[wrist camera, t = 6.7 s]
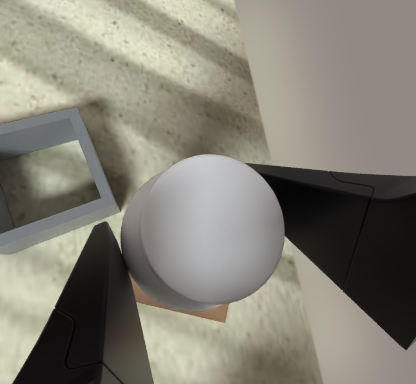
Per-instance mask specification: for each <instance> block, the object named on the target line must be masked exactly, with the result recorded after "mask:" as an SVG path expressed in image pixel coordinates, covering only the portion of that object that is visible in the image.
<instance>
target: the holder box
mask: <svg viewBox="0 0 416 384" xmlns="http://www.w3.org/2000/svg"><path fill="white" fill-rule="evenodd" d="M74 140H79V143H80V145H81V148H82V150H83V153H84V155H85V158H86V161H87V163H88V166H89V168H90V171H91V173H92V176H93V178H94V181H95V184H96V186H97V189H98V191H99V194H100V196H101V198H100V199H97V200H94V201H92V202H89V203H86V204H83V205H80V206H78V207H75V208H72V209H69V210H66V211H64V212H61V213H58V214H55V215H52V216H50V217H47V218H44V219H41V220H38V221H36V222H33V223H30V224H27V225H24V226H22V227H19V228H16V229H15V228H14V225H13V222H12V219H11V216H10V213H9V210H8V207H7V204H6V200H5V197H4V194H3V191H2V188H1V185H0V254H13V253H15V252H18V251H20V250H23V249H26V248H28V247H31V246H33V245H36V244H38V243H41V242H44V241H46V240H49V239H51V238H54V237H57V236H59V235H62V234H64V233H67V232H70V231H72V230H75V229H77V228H80V227H83V226H85V225H88V224H90V223H93V222H96V221H98V220H101V219H103V218H106V217H109V216H111V215H114V214H116V213H119V212H120V209H119V207H118V204H117V202H116V199H115V197H114V194H113V192H112V189H111V187H110V184H109V182H108V179H107V177H106V174H105V172H104V169H103V167H102V164H101V162H100V159H99V157H98V154H97V152H96V149H95V147H94V144H93V142H92V139H91V137H90V134H89V132H88V129H87V127H86V125H85V123H84V121H83V119H82V116H81V114H80V112H79V110H78V108H77V107H74V108H70V109H65V110H61V111H56V112H52V113H48V114H43V115H39V116H34V117H30V118H26V119H21V120H17V121H13V122H8V123H4V124H0V160H4V159H7V158H11V157H15V156H18V155H22V154H26V153H29V152H33V151H37V150H41V149H44V148H48V147H52V146H55V145H59V144H63V143H66V142H70V141H74Z"/></svg>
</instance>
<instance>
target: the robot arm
mask: <svg viewBox="0 0 416 384" xmlns="http://www.w3.org/2000/svg"><path fill="white" fill-rule="evenodd" d="M245 164H246V165H248V166H249V167H251V168H252V169H254V170H255V171H256V172H257V173H258V174H259V175H261V176H262V177H263V178H264V180H265V181H266V182H267V183H268V185H269V186H270V187H271V189H272V190H273V192H274V194H275V195H276V197H277V200H278V202H279V205H280V208H281V210H282V214H283V219H284V230H285V236H286V237H287V238H288V239H289V240H290V241H291V242H292V243H293V244H294V245H295V246H296V247H297V248H298V249H299V250H300V251H301V252H303V254H304V255H306V256H307V257H308V258H309V259H310V260H311V261H312V262H313V263H314V264H315V265H316V266H317V267H318V268H319V269H320V270H321V271H322V272H323V273H325V274H326V275H327V276H328V277H329V278H330V279H331V280H332V281H333V282H334V283H335V284H336V285H337V286H338V287H339V288H340V289H341V290H343V292H344V293H345V294H347V296H348V297H350V298H351V299H352V300H353V301H354V302H355V303H356V304H357V305H358V306H359V307H360V308H361V309H362V310H363V311H364V312H365V313H366V314H368V316H370V317H371V318H372V319H373V320H374V321H375V322H376V323H377V324H378V325H379V326H380V327H381V328H382V329H384V331H385V332H387V334H389V335H390V336H391V337H392V338H393V339H394V340H395V341H396V342H397V343H398V344H399V345H400V346H401V347H403V348H404V349H405V350H407V349H408V348H409V347H410V346H411V345H412V344H413V343H414V342H415V341H416V176H395V175H374V174H356V173H344V172H332V171H329V172H328V171H322V170H311V169H302V168H291V167H281V166H271V165H261V164H250V163H245ZM12 384H154V382H153V377H152V373H151V368H150V364H149V359H148V355H147V350H146V345H145V341H144V336H143V332H142V327H141V322H140V318H139V313H138V309H137V304H136V300H135V295H134V290H133V286H132V282H131V278H130V275H129V272H128V269H127V267H126V264H125V262H124V259H123V256H122V253H121V250H120V248H119V245H118V242H117V240H116V238H115V236H114V234H113V232H112V230H111V228H110V226H109V224H108V223H107V222H106V221H105V222H102V223H100V224H97V225H95V226H94V228H93V230H92V232H91V234H90V236H89V238H88V240H87V242H86V244H85V246H84V248H83V250H82V252H81V254H80V256H79V258H78V260H77V262H76V264H75V266H74V268H73V270H72V272H71V274H70V277H69V279H68V281H67V283H66V285H65V287H64V289H63V291H62V293H61V295H60V297H59V299H58V301H57V303H56V305H55V309H53V311H52V313H51V315H50V317H49V319H48V321H47V323H46V325H45V327H44V329H43V331H42V333H41V335H40V337H39V338H38V340H37V342H36V344H35V346H34V347H33V349H32V351H31V353H30V354H29V356H28V358H27V360H26V361H25V363H24V365H23V367H22V368H21V370H20V372H19V373H18V375H17V377H16V378H15V380H14V382H13V383H12Z"/></svg>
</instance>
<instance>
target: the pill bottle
mask: <svg viewBox="0 0 416 384" xmlns="http://www.w3.org/2000/svg"><path fill="white" fill-rule="evenodd" d="M284 235H285V230H284V219H283V214H282V210H281V208H280V205H279V202H278V200H277V197H276V195H275V194H274V192H273V190H272V189H271V187H270V186H269V185H268V183H267V182H266V181H265V180H264V178H263V177H262V176H261V175H259V174H258V173H257V172H256V171H255V170H254V169H252V168H251V167H249V166H248V165H246V164H245V163H243V162H241V161H239V160H237V159H234V158H231V157H228V156H223V155H215V154H203V155H197V156H193V157H189V158H186V159H183V160H181V161H179V162H177V163H175V164H174V165H172V166H171V167H169V168H168V169H167V170H166V171H163V172H161V173H159V174H158V175H156V176H154V177H153V178H152V179H150V180H149V181H148V182H146V183H145V184H144V185H143V186H142V187H141V188H140V189H139V190H138V191H137V192H136V194H135V195H134V196H133V198H132V199H131V201H130V203H129V205H128V207H127V209H126V212H125V215H124V218H123V222H122V227H121V249H122V255H123V259H124V262H125V264H126V267H127V269H128V271H129V273H130V275H131V277H132V278H133V280H134V281H135V283H136V284H137V285H138V286H139V288H140V289H141V290H142V291H143V292H144V293H145V294H146V295H147V296H149V297H150V298H152V299H153V300H155V301H156V302H158V303H160V304H162V305H164V306H166V307H169V308H172V309H176V310H181V311H203V310H208V309H212V308H215V307H217V306H220V305H222V304H227V303H231V302H235V301H239V300H241V299H243V298H245V297H247V296H249V295H251V294H252V293H254V292H256V291H257V290H258V289H259V288H260V287H262V286H263V285H264V284H265V283H266V281H267V280H268V279H269V278H270V277H271V275H272V274H273V272H274V270H275V269H276V267H277V265H278V262H279V260H280V257H281V254H282V250H283V246H284Z"/></svg>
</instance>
